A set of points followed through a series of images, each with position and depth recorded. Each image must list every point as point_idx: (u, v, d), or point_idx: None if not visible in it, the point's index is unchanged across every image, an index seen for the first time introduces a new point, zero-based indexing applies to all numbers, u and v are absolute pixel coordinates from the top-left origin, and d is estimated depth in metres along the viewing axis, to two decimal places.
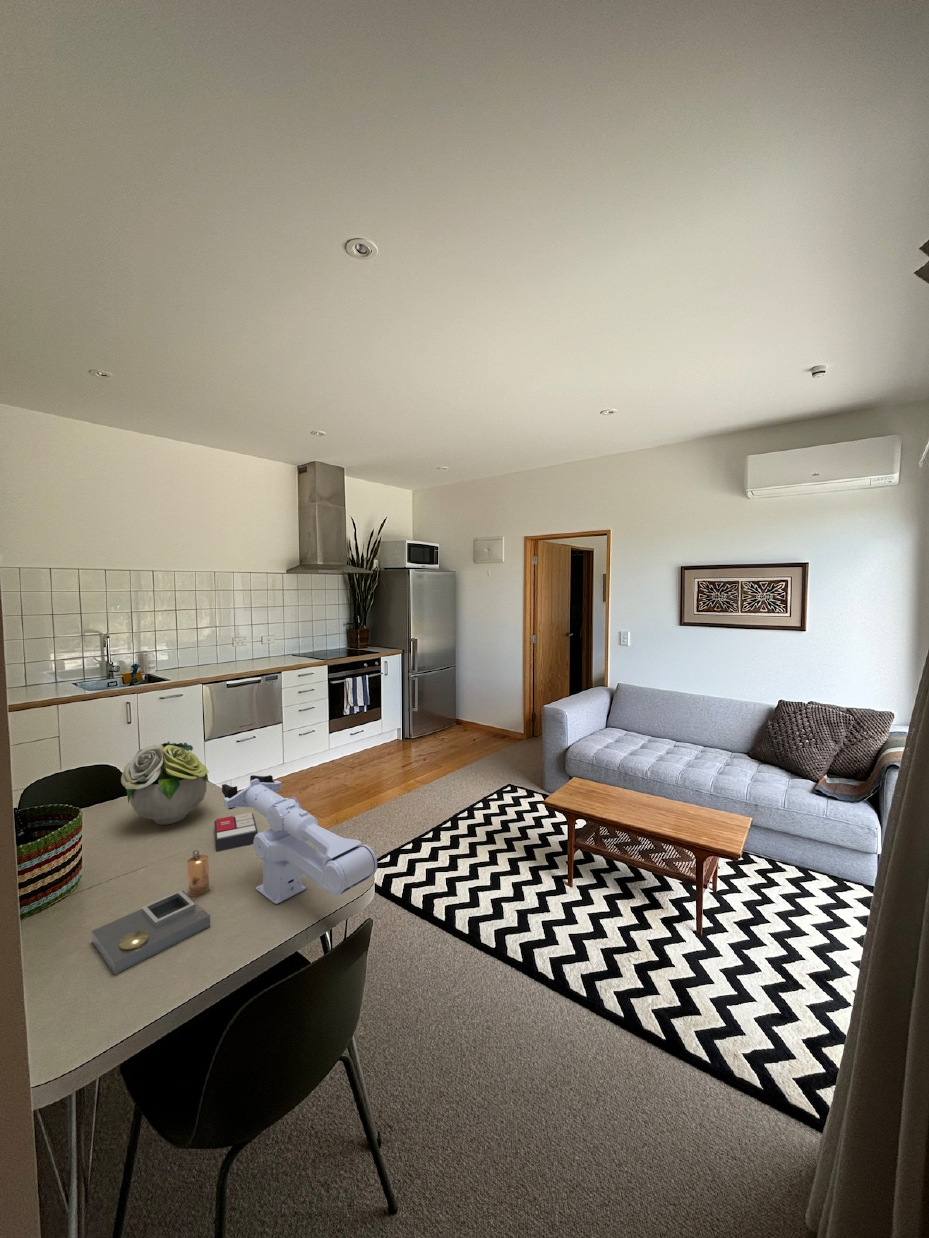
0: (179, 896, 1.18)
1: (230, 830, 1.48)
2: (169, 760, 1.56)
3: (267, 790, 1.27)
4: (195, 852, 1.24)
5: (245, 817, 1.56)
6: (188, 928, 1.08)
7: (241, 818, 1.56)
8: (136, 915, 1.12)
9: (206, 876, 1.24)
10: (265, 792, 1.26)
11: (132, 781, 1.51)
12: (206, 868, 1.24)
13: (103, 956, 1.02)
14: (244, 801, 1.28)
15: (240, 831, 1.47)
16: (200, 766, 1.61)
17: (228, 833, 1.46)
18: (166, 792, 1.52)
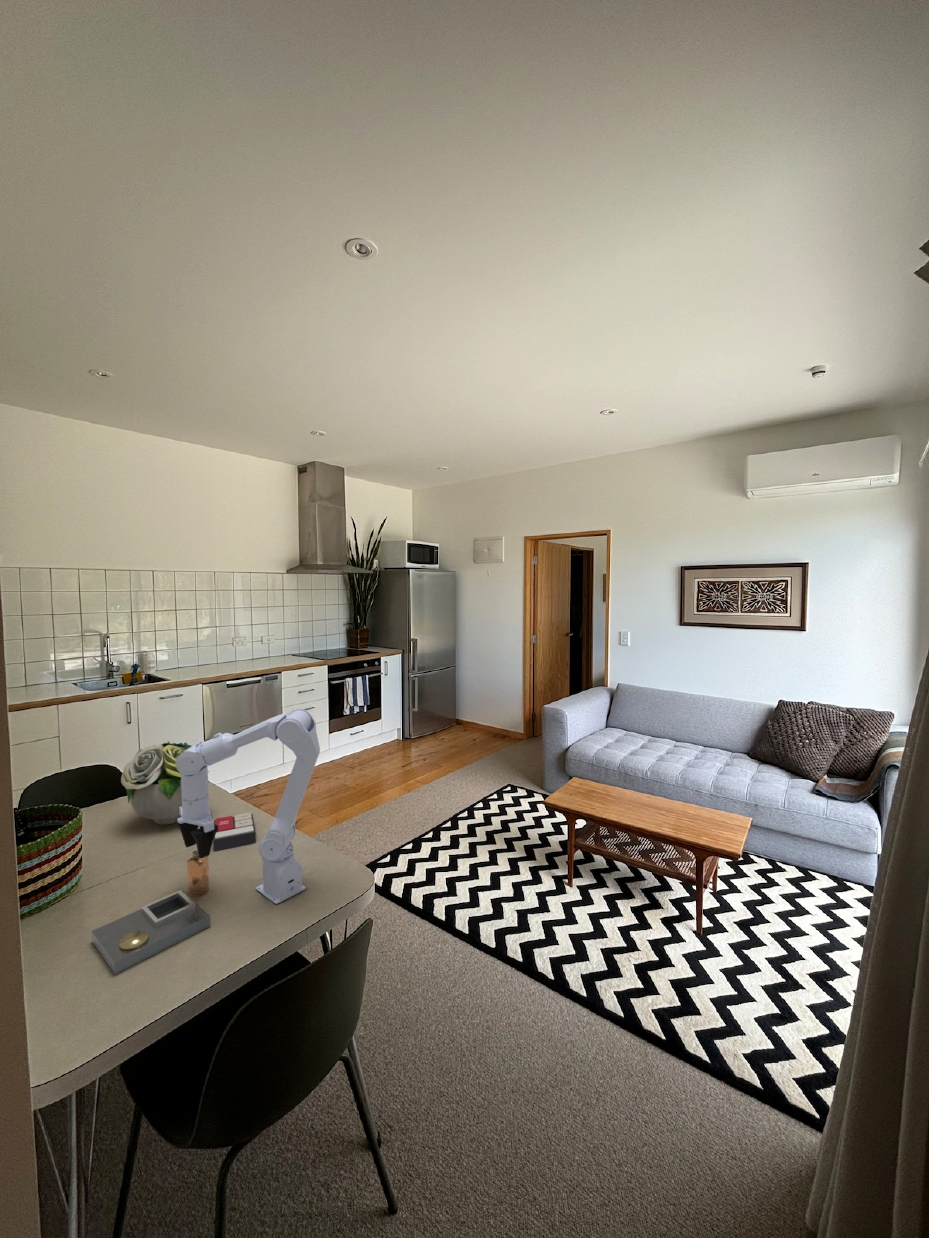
0: (179, 896, 1.18)
1: (228, 830, 1.48)
2: (169, 760, 1.56)
3: None
4: (195, 852, 1.24)
5: (244, 817, 1.56)
6: (188, 928, 1.08)
7: (240, 818, 1.56)
8: (136, 915, 1.12)
9: (206, 876, 1.24)
10: None
11: (132, 781, 1.51)
12: (206, 868, 1.24)
13: (103, 956, 1.02)
14: (204, 816, 1.22)
15: (238, 831, 1.47)
16: None
17: (226, 833, 1.46)
18: (166, 792, 1.52)
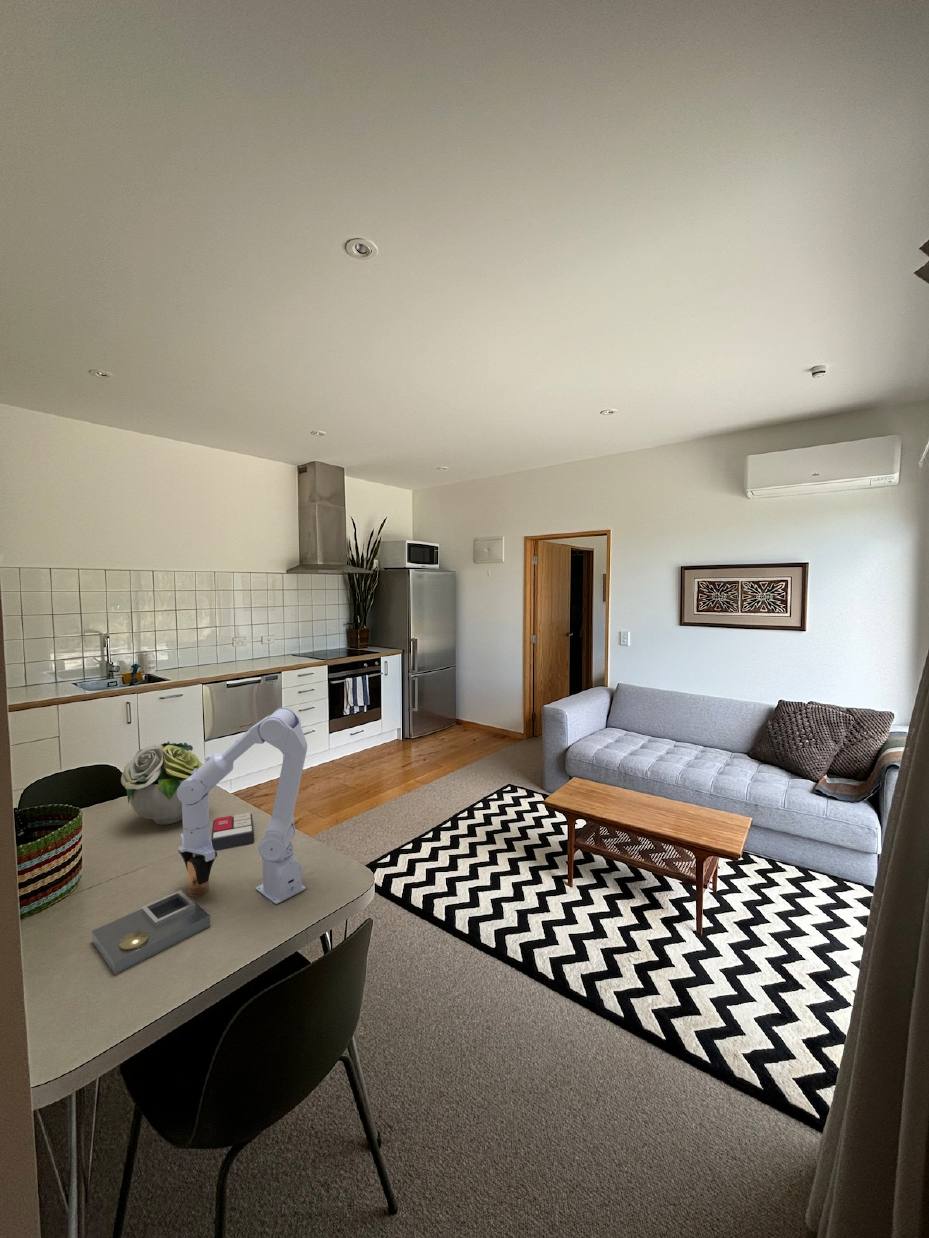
0: (179, 896, 1.18)
1: (227, 830, 1.48)
2: (169, 760, 1.56)
3: None
4: None
5: (243, 817, 1.56)
6: (188, 928, 1.08)
7: (239, 818, 1.56)
8: (136, 915, 1.12)
9: None
10: None
11: (132, 781, 1.51)
12: None
13: (103, 956, 1.02)
14: (205, 845, 1.22)
15: (236, 831, 1.47)
16: (200, 766, 1.61)
17: (224, 833, 1.46)
18: (166, 792, 1.52)
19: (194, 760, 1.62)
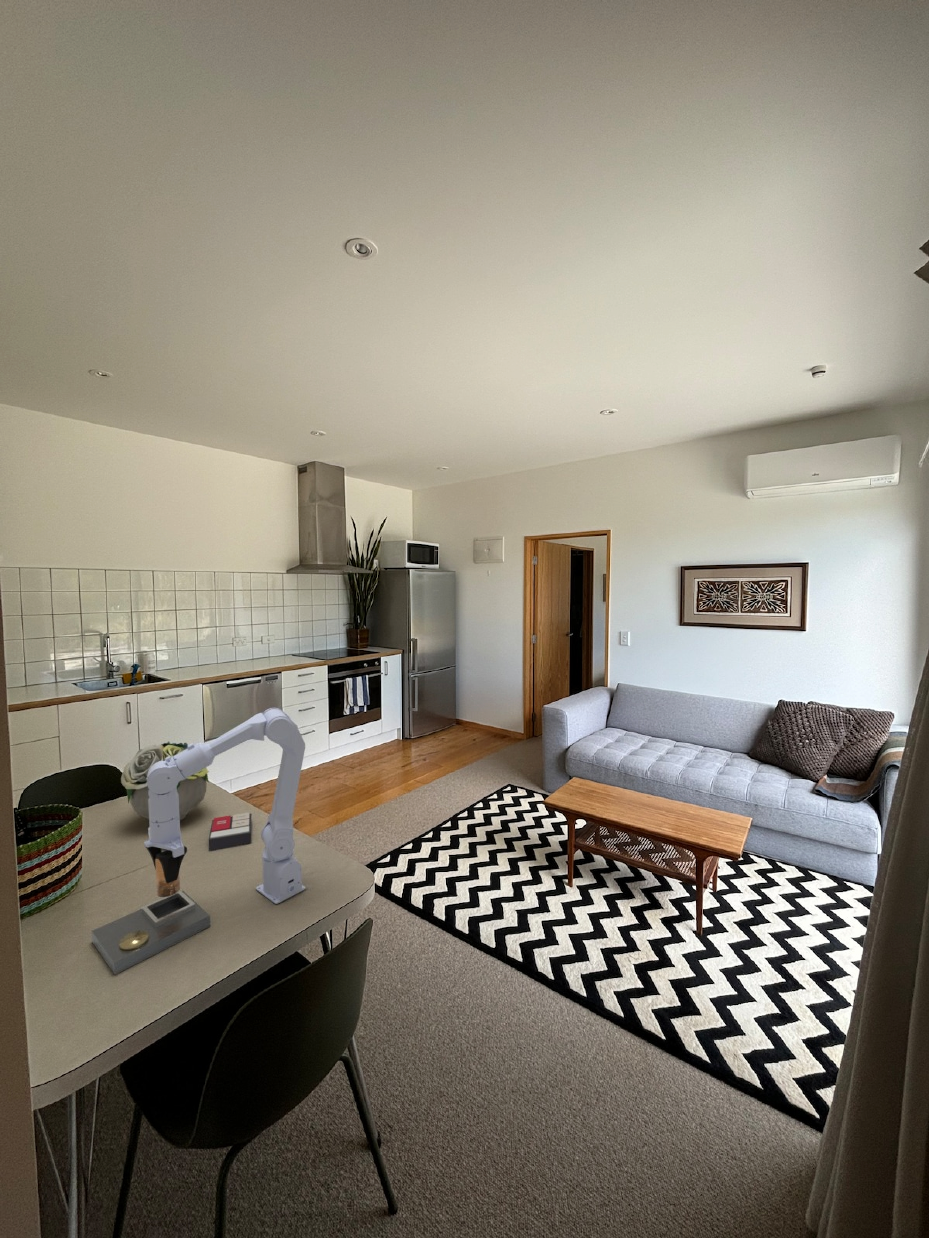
0: (179, 896, 1.18)
1: (224, 830, 1.48)
2: None
3: None
4: None
5: (242, 817, 1.56)
6: (188, 928, 1.08)
7: (238, 818, 1.56)
8: (136, 915, 1.12)
9: None
10: (149, 815, 1.10)
11: (132, 781, 1.51)
12: None
13: (103, 956, 1.02)
14: (174, 839, 1.11)
15: (234, 831, 1.47)
16: None
17: (222, 833, 1.46)
18: None
19: None
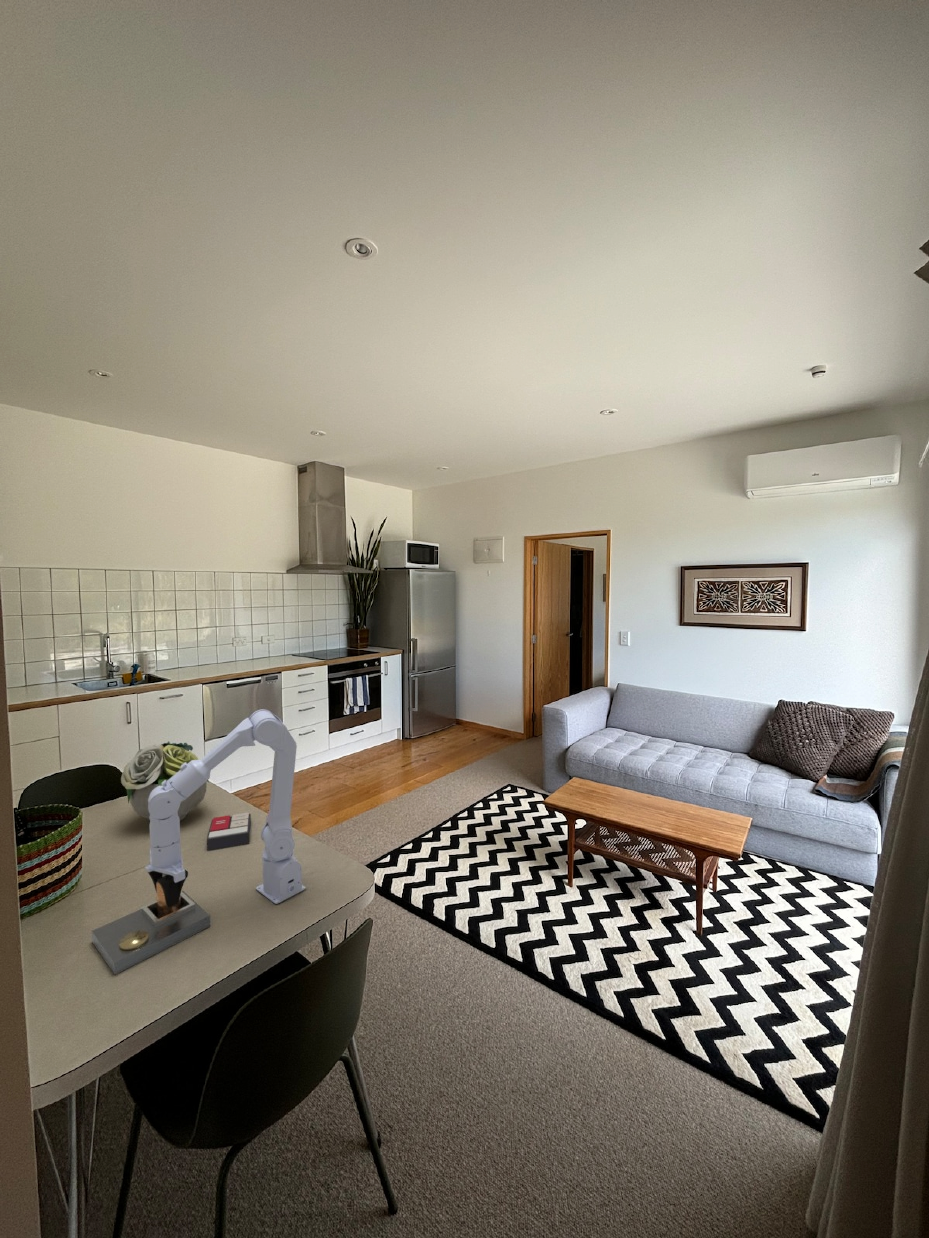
0: None
1: (223, 830, 1.48)
2: (169, 760, 1.56)
3: None
4: None
5: (241, 817, 1.56)
6: (188, 928, 1.08)
7: (237, 818, 1.56)
8: (136, 915, 1.12)
9: None
10: (150, 839, 1.10)
11: (132, 781, 1.51)
12: None
13: (103, 956, 1.02)
14: (175, 863, 1.11)
15: (232, 831, 1.47)
16: None
17: (220, 833, 1.46)
18: None
19: None
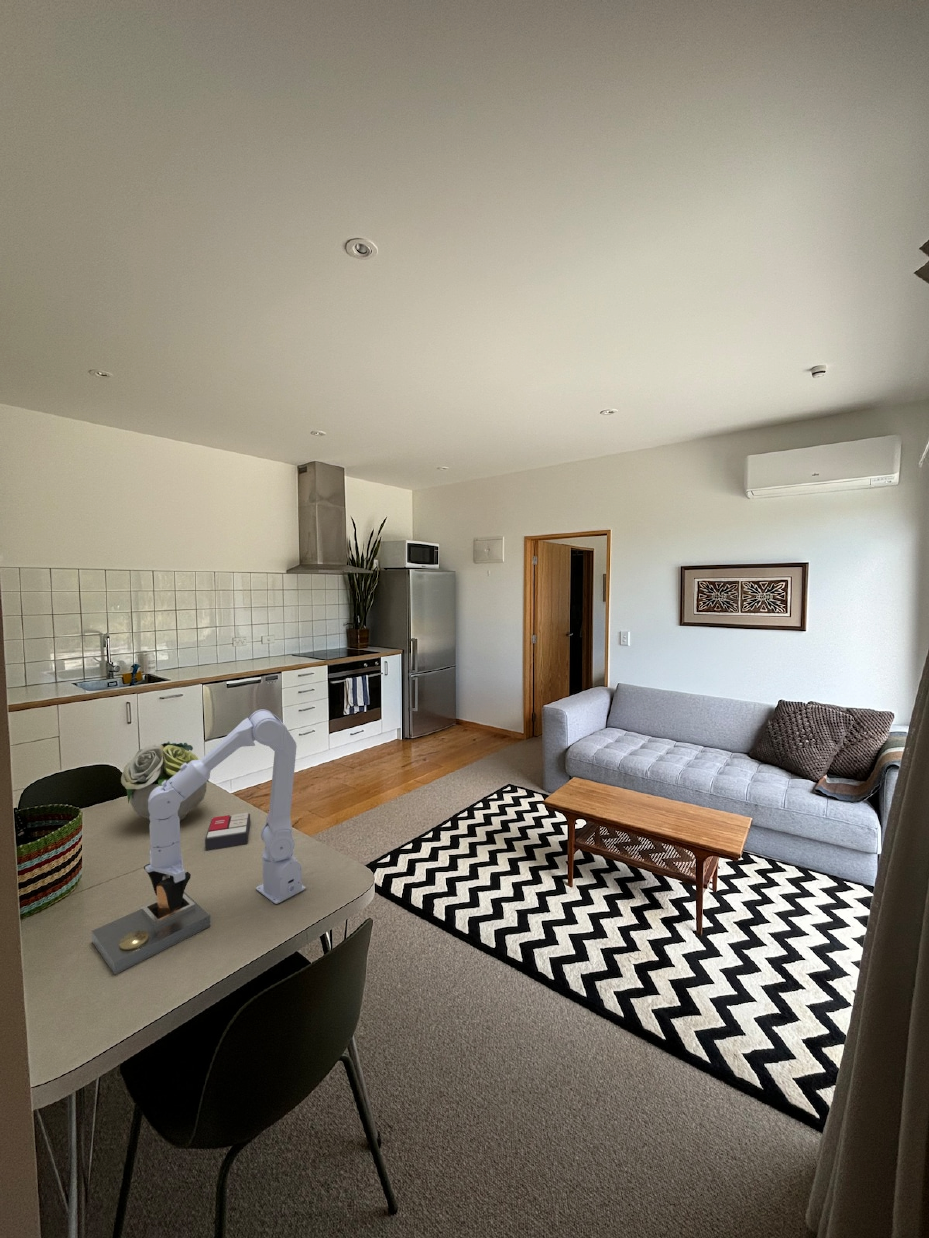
0: None
1: (221, 830, 1.48)
2: (169, 760, 1.56)
3: None
4: (165, 875, 1.13)
5: (240, 817, 1.56)
6: (188, 928, 1.08)
7: (236, 818, 1.56)
8: (136, 915, 1.12)
9: None
10: (150, 840, 1.10)
11: (132, 781, 1.51)
12: None
13: (103, 956, 1.02)
14: (175, 863, 1.11)
15: (230, 831, 1.47)
16: None
17: (218, 833, 1.46)
18: None
19: None
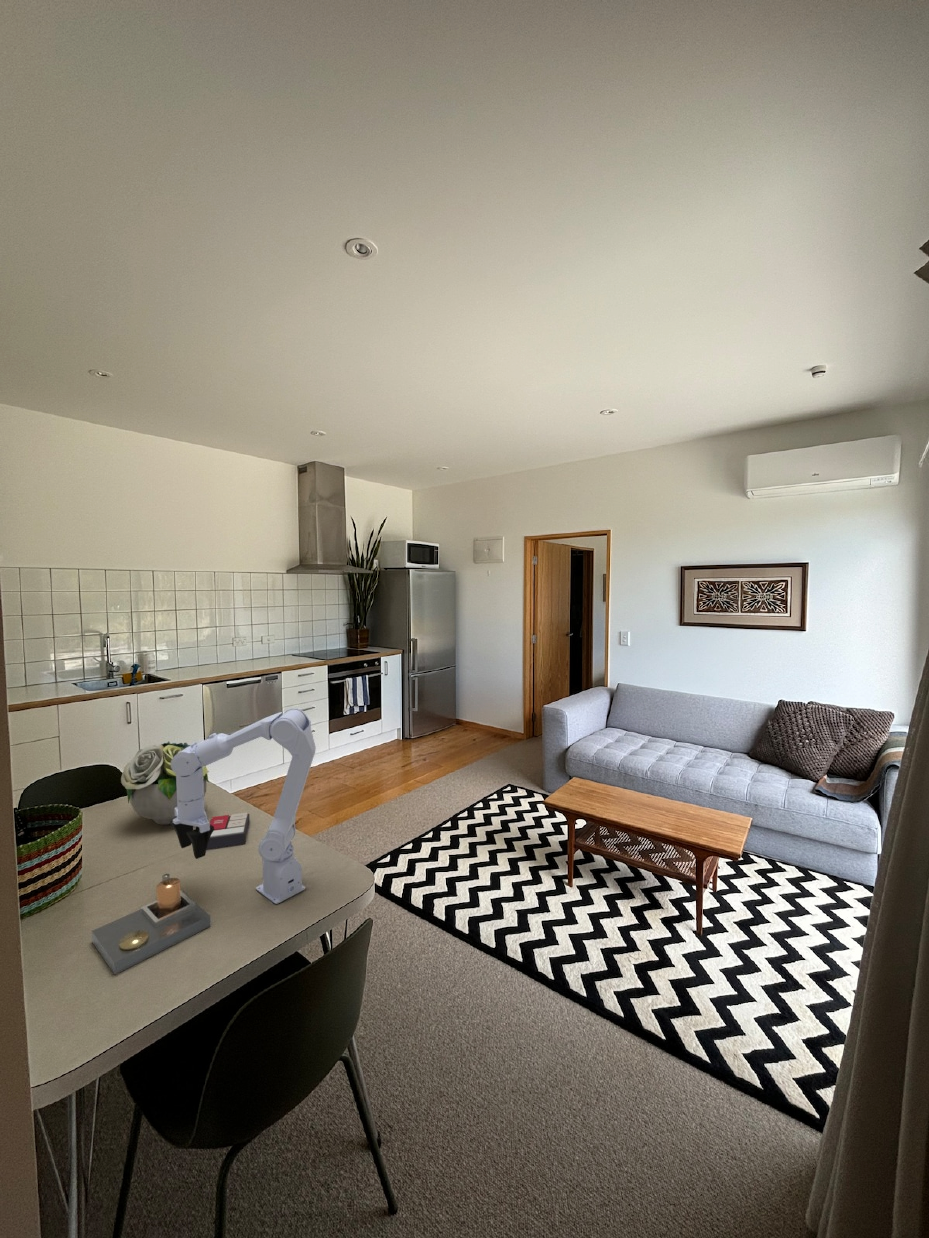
0: None
1: (220, 830, 1.48)
2: (169, 760, 1.56)
3: None
4: (165, 875, 1.13)
5: (239, 817, 1.56)
6: (188, 928, 1.08)
7: (235, 818, 1.56)
8: (136, 915, 1.12)
9: (178, 901, 1.13)
10: None
11: (132, 781, 1.51)
12: (178, 892, 1.13)
13: (103, 956, 1.02)
14: (200, 817, 1.22)
15: (228, 831, 1.47)
16: None
17: (216, 833, 1.46)
18: (166, 792, 1.52)
19: None
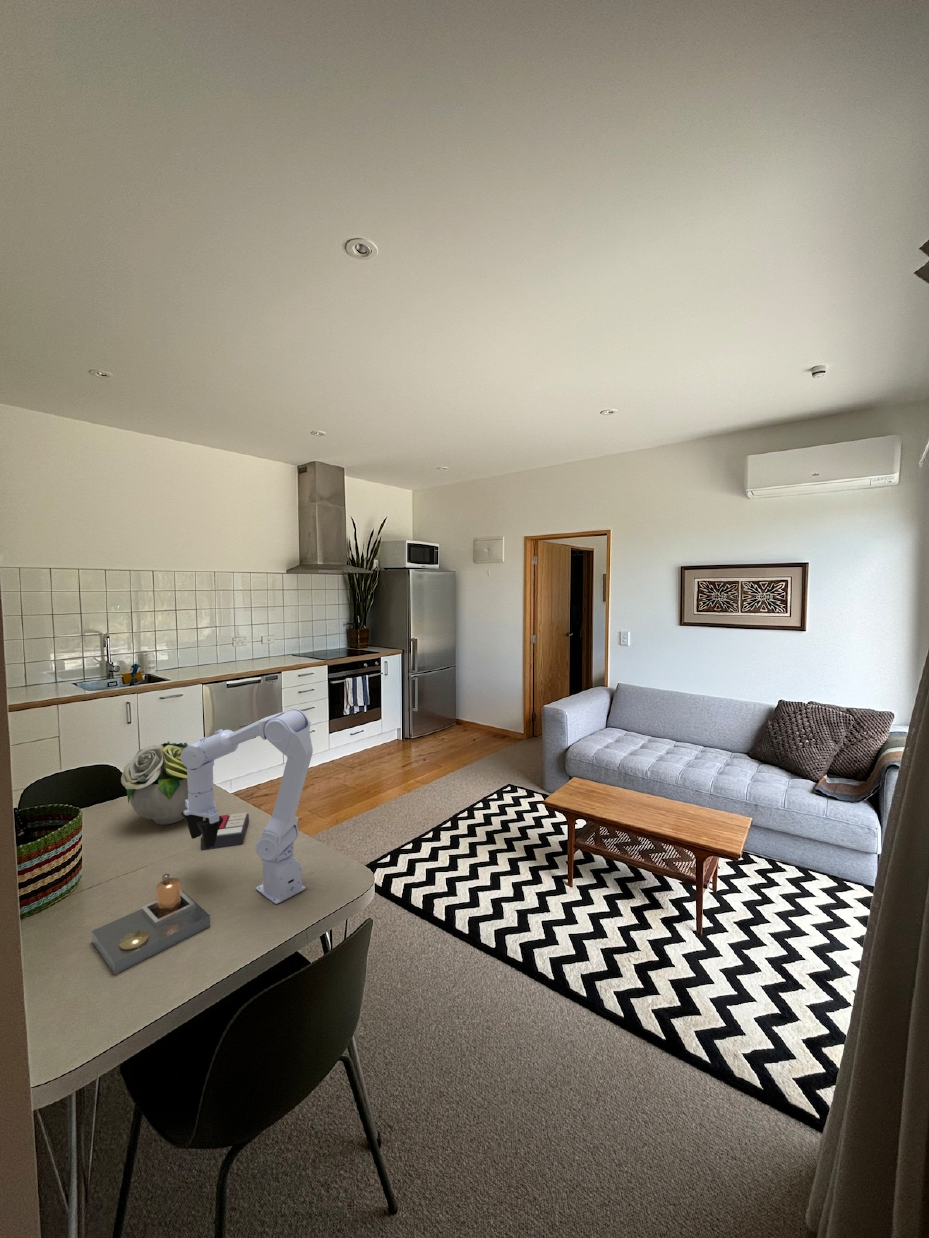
0: None
1: None
2: (169, 760, 1.56)
3: None
4: (165, 875, 1.13)
5: (238, 817, 1.56)
6: (188, 928, 1.08)
7: (234, 818, 1.56)
8: (136, 915, 1.12)
9: (178, 901, 1.13)
10: None
11: (132, 781, 1.51)
12: (178, 892, 1.13)
13: (103, 956, 1.02)
14: (209, 808, 1.27)
15: (226, 831, 1.47)
16: None
17: None
18: (166, 792, 1.52)
19: None
